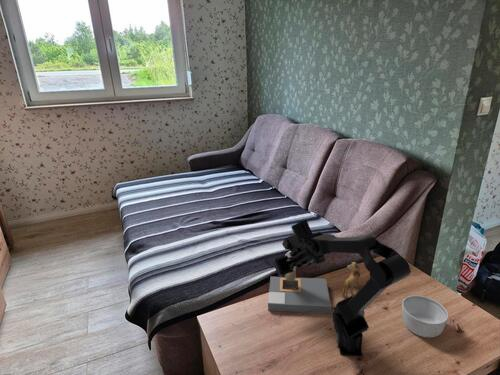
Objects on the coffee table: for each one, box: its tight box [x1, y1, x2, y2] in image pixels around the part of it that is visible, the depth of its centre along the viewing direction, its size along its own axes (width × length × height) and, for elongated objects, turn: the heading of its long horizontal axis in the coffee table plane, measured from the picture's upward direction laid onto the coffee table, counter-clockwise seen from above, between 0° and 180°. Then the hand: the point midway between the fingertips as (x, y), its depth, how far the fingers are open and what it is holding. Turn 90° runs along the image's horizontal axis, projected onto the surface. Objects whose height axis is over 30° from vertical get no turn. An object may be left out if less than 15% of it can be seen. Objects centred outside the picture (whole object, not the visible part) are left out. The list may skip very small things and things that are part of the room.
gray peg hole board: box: [267, 276, 332, 315], centre depth 116 cm, size 22×16×3 cm
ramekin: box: [401, 294, 449, 339], centre depth 100 cm, size 13×13×7 cm
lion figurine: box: [341, 261, 361, 299], centre depth 118 cm, size 15×5×9 cm, turn 154°
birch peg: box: [284, 252, 297, 281], centre depth 116 cm, size 4×4×10 cm
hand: (288, 266), depth 117 cm, fingers closed on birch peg, 4 cm apart
